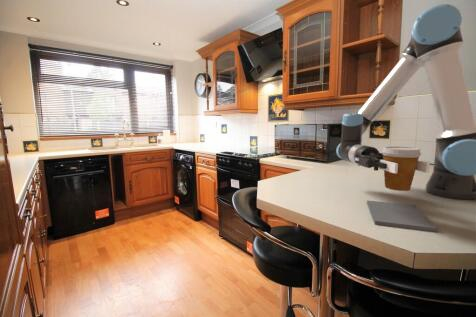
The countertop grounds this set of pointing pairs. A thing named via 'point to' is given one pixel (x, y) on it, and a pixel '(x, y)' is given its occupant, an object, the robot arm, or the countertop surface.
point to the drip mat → (399, 216)
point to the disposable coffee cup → (401, 166)
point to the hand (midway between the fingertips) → (412, 168)
